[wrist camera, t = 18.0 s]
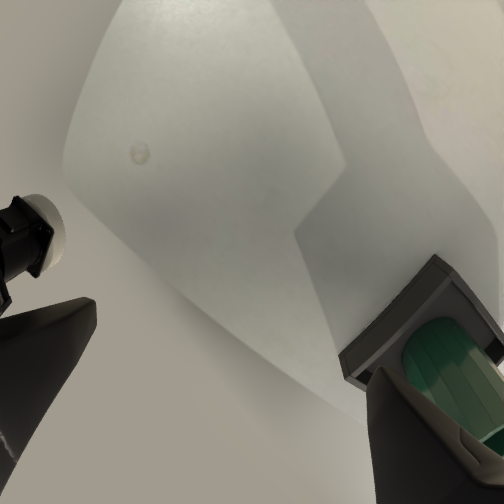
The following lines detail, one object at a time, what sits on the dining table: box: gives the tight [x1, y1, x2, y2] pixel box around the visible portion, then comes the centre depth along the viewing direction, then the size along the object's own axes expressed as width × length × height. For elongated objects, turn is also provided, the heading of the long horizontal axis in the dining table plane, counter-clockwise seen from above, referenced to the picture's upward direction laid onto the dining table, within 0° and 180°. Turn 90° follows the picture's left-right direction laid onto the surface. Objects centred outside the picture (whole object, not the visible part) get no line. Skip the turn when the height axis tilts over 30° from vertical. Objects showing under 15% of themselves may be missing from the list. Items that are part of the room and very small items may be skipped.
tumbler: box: [401, 317, 504, 458], centre depth 17 cm, size 6×6×12 cm
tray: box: [338, 254, 504, 392], centre depth 22 cm, size 11×13×3 cm
